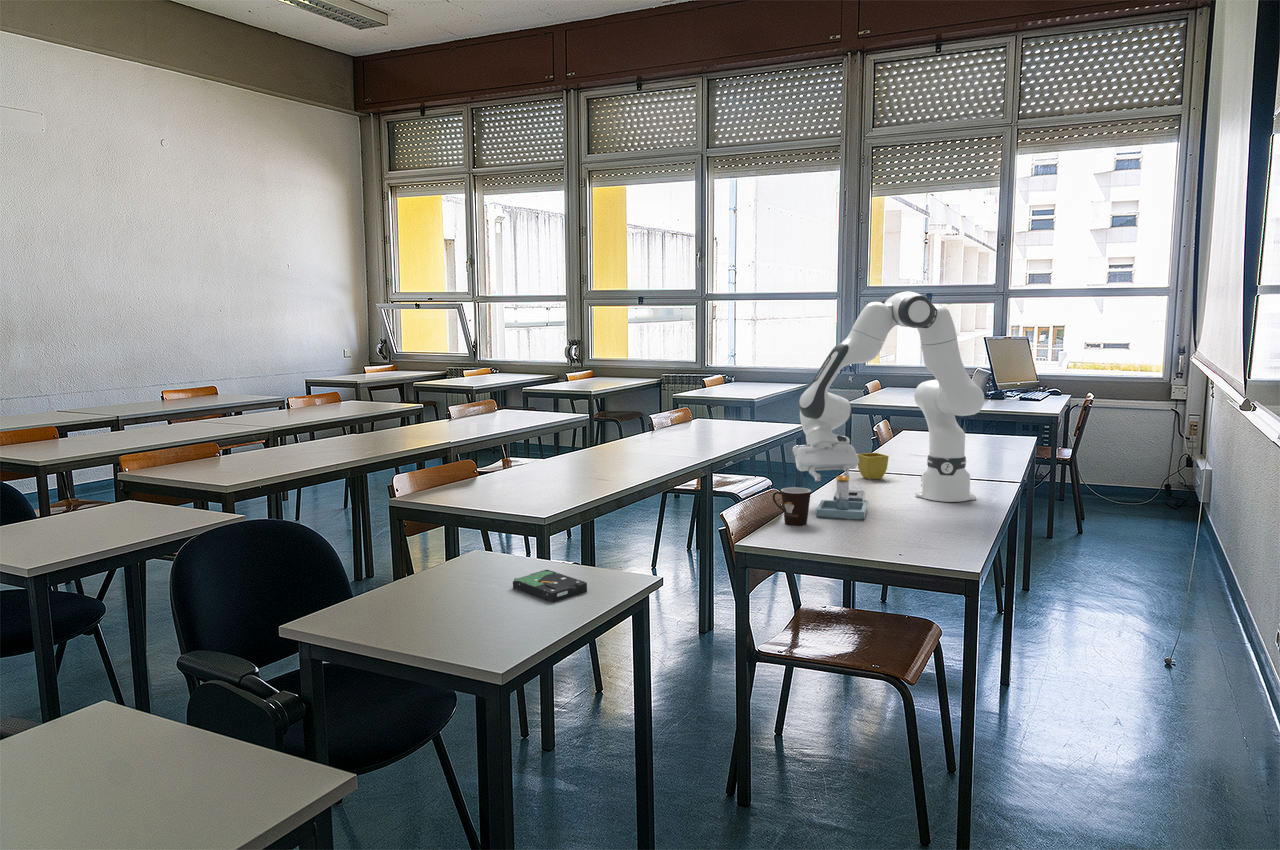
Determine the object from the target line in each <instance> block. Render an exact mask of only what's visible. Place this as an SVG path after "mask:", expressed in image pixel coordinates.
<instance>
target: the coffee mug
mask: <svg viewBox="0 0 1280 850" xmlns="http://www.w3.org/2000/svg"><path fill="white" fill-rule="evenodd" d="M811 491H812V490H811V489H809V488H806V487H784V488H782V489H781V490H780V491H775V492H774V493H773V494H772V500H773V502H774V505H776V506H777V507H778V509H780V510H781V511H782V512H783V518H784V519H783V520H784V524H785V525H787V526H789V527H803V525H804V526H807V524H808V517H809V516H808V515H809V507H810V502H811V501H810V499H811V494H812V493H811ZM776 495H780V496H781V500H782V501H781V502H782V506H781V505H780V504H779V503H778V502H777V500H776V499H775V497H776Z"/></svg>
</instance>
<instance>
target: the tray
mask: <svg viewBox="0 0 1280 850" xmlns="http://www.w3.org/2000/svg"><path fill="white" fill-rule="evenodd" d="M867 505H868V502H867V501H864V502H854V501H848V510H836V501H834V499H833V500H831V499H821V500H820V502H819V504H818V507H817V508H816V518H817V517H827V518H826V519H834V518H847V519H846V520H852V519H864V518H866V515H865V514H867V511H866V510H868V509H867V508H868V506H867ZM848 518H849V519H848ZM864 520H865V519H864Z"/></svg>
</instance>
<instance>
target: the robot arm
mask: <svg viewBox="0 0 1280 850" xmlns="http://www.w3.org/2000/svg"><path fill="white" fill-rule="evenodd" d="M896 326H900V327H905V328H912V329H916V330H917V331H918V333H919V339H920V345H921V351H922V357H923V363H924V366H925V368H926V369H927V370H928V372H930V373H931V374H932V375H933V376H934V378H935V379H931V380H926V381H922V382H921V383H919V384H918V385H917V387H916V389H915V390H914V402H915V404H916V406H917V407H918V408H919V409H920V410H921V412H922V413H923V416H924V418H925V421H926V425H927V428H928V429H927V430H928V437H929V438H928V439H929V440H928V449H929V451H928V455H927V458H926V459H927V460H926V462H927V464H926V466H927V468H925V470H924V471H923V472H922V474H921V477H920V478H921V480H920V481H921V482H922V483H921V484H920V487H921V488H920V489H919V490H918V491H917V492H916V493H915V497H917V498H923V499H926V500H929V501H935V502H944V503H945V502H946V503H955V502H957V503H958V502H966V501H971V500H972V501H973V500H976V499H977V496H976V495H975V494H974V493H973V492H971V474H970V473H969V472H968V471H967V469H966V466H967V457H966V455H965V454H966V453H965V451H966V433H965V431H964V430H963V428H962V427H961V426H960V425H959V424H958V421H957V420H956V419H957V418H956V416H958V417H966V416H972V415H976V414H978V413H980V411H981V410H982V409H983V407H984V404H985V394H984V391H983V389H982V388H981V387H980V386H979V385H977V384H976V383H975V381H974V380H972V378H971V377H970V375H969V374H968V372H967V370H966V368H965V366H964V364H963V361H962V357H961V353H960V349H959V342H958V341H959V340H958V336H957V332H956V327H955V324H954V320H953V318H952V315H951V313H950V310H949V309H948V308H946V307H945V306H941V305H934V303H932V301H931V299H929V298H928V297H927V296H926V295H924V294H923V293H922V294H921V293H918V292H914V291H897V292H894V293H892V294H890V295H889V296H887V298H886V299H884V300H883V301H882V302H880V301H872V302H868V303H867V304H865V306H864V307H863V309H862V310H861V312H860V314H859V315H858V317H857V318H856V320H855V322H854V324H853V325H852V328H851V330H850V332H849V333H848V335H847V336H846V338H844V340H843V341H842V342H840V343H838V344H836V345H835V346H834V347H833V348H832V349H831V350H830V352H829V353H828V355H827V356H826V357H825V359H824V361H823V362H822V364H821V366H820V368H819V369H818V371H817V373H816V374H815V376H814V378H813V379H812V380H811V382H810V384H809V385H808V386H807V387H806V388H805V389H804V390H803V391H802V392H801V394H800V396H799V399H798V407H799V408H798V409H799V421H800V425H801V428H802V431H803V433H804V435H805V442H806V444H801V445H800V444H796V445H795V446H793V447H792V454H793V456H794V457H795V458H794V461H795V466H796V469H797V470H798V471H800V472H808V473H809V475H811V476H812V477H813V478H814V481H815V482H820V481H821V480H822V476H821V473H818V472H816V471H833V470H843V471H844V472H843V474H842V475H843V476H849V478H850V474H849V472H850V470H854V469H856V468H858V463H859V458H858V456H857V454H858V453H857V451H856V449H855V447H854V446H853V445H852V444H850V441H851V440H850V438H849V437H848V436H844V435H839V434H836V433H833V431H834V430H836V429H838V428H840V427H841V426H843V425H845V424H846V423H847V422H848V421H849V420H850V417H851V416H852V405H851V402H850V400H849V399H847V398H845V397H843V396H840V395H838V394H834V393H831V392H829V391H828V390H829V388H830V387H831V385H832V383H833V382H834V381H835V379H836V378H837V375H838V374H839V373H840V371H841V370H842V369H843V368H845V367H847V366H850V365H853V364H854V365H855V364H864V363H868V362H871V361H873V360H875V359H876V357H877V356H878V355H879V354H880V352H881V350H882V349H883V347H884V344H885V341H886V340H887V337H888V334H889V333H890V331H892V329H893V328H895V327H896Z"/></svg>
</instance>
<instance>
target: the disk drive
mask: <svg viewBox="0 0 1280 850" xmlns="http://www.w3.org/2000/svg"><path fill="white" fill-rule="evenodd" d="M512 589H515V590H517V591H520V592H523V593H525V594H527V595H531V596H533V597H536V598H539V599H542V600H544V601H547V602H550V603H555V602H558V601H562V600H565V599H569V598H571V597H575V596H578V595H581V594H584V593H587V592H588V583H587V582H586V581H584V580H580V579H577V578H574V577H572V576H569V575H565V574H562V573H560V572H559V573H558V572H556V571H553V570H550V569H544V570H540V571H537V572H533V573H529V575H528V574H527V575H525V576H522V577H518V578H517V577H515V578H514V580H513V581H512Z"/></svg>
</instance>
